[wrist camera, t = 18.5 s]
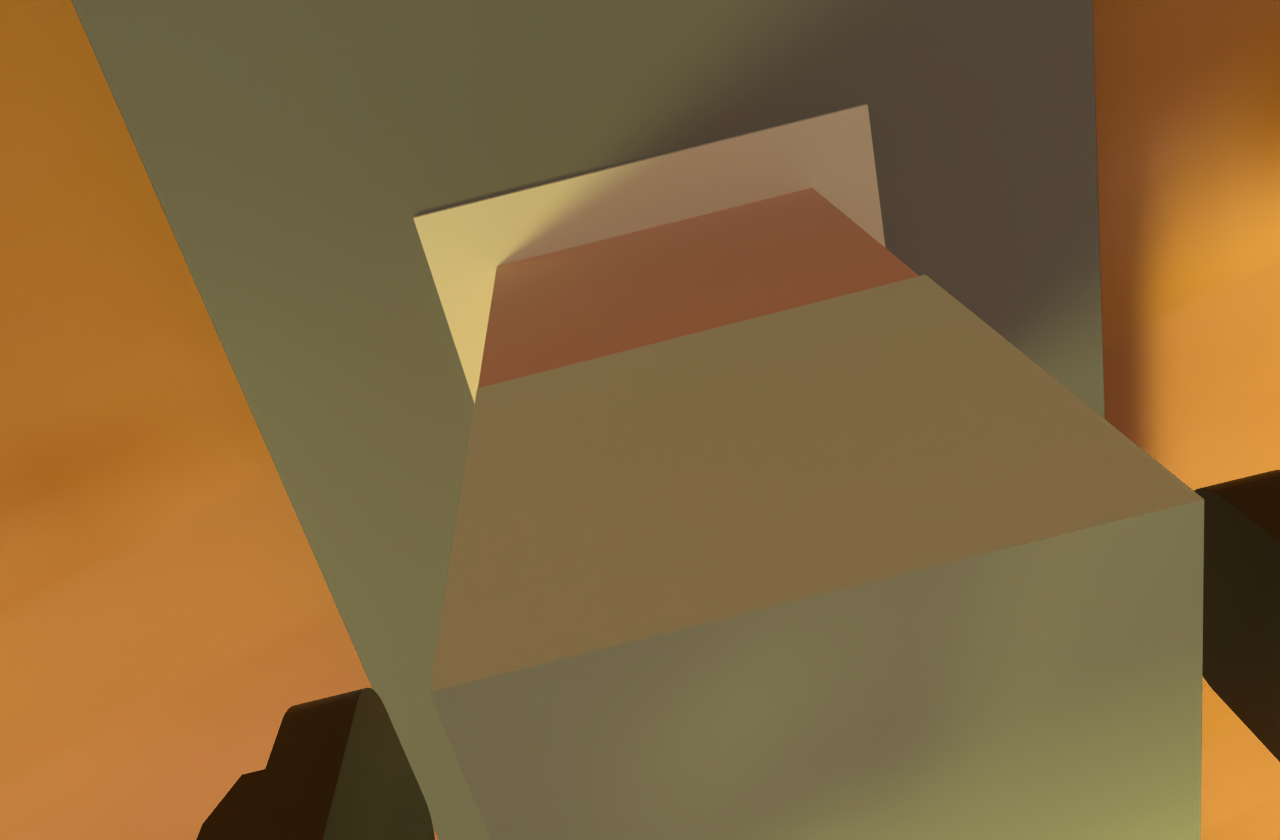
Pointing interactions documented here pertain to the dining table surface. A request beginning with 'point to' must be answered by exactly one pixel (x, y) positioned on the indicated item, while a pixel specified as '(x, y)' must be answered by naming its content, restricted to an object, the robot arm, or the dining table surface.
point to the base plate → (564, 215)
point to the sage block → (821, 593)
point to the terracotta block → (677, 282)
